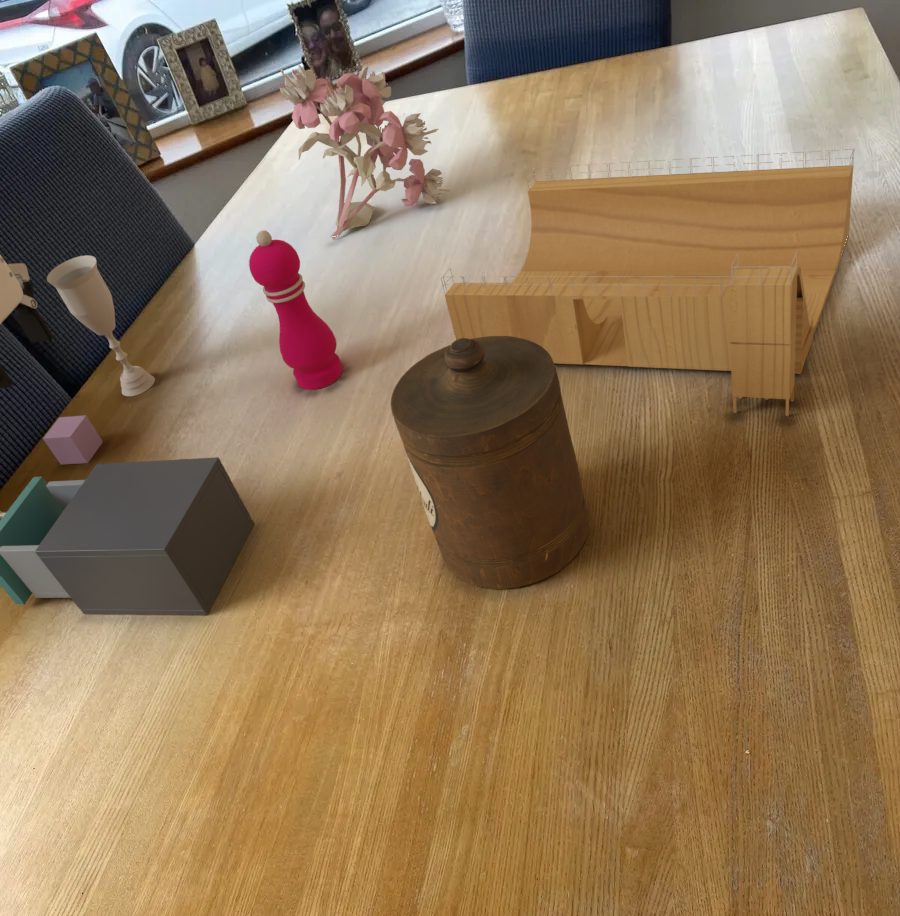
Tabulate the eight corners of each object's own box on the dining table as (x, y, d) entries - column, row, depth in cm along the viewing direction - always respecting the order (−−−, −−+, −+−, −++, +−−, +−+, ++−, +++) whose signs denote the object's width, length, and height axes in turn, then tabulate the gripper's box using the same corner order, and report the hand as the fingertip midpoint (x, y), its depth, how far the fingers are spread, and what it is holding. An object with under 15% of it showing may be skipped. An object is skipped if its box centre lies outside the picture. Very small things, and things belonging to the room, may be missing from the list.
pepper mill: (286, 377, 125) (224, 235, 111) (334, 353, 126) (278, 209, 112) (305, 399, 120) (242, 254, 106) (354, 374, 121) (299, 227, 107)
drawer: (-28, 603, 106) (-72, 555, 101) (28, 527, 114) (-10, 478, 109) (124, 604, 99) (86, 552, 94) (172, 523, 107) (140, 471, 102)
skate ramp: (849, 244, 115) (858, 105, 104) (789, 416, 95) (792, 267, 84) (546, 249, 133) (526, 131, 122) (440, 394, 113) (405, 269, 101)
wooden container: (471, 481, 100) (415, 297, 85) (606, 489, 94) (572, 292, 79) (419, 582, 92) (346, 397, 76) (564, 599, 86) (517, 401, 70)
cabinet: (83, 614, 101) (34, 551, 95) (138, 526, 110) (96, 463, 103) (207, 615, 96) (164, 549, 90) (254, 523, 105) (218, 456, 98)
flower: (389, 257, 138) (398, 62, 126) (272, 237, 148) (270, 54, 136) (460, 248, 153) (474, 73, 142) (350, 230, 163) (354, 66, 152)
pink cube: (60, 464, 124) (42, 438, 121) (76, 443, 127) (59, 417, 124) (87, 463, 123) (70, 436, 120) (103, 441, 125) (86, 415, 122)
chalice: (166, 384, 132) (102, 266, 119) (122, 407, 131) (52, 290, 118) (152, 364, 137) (89, 249, 124) (110, 386, 136) (41, 272, 123)
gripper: (-48, 198, 110) (34, 326, 122) (-140, 276, 99) (-40, 408, 111) (2, 188, 107) (81, 320, 119) (-86, 268, 96) (10, 404, 108)
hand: (23, 362), depth 115 cm, fingers open, 9 cm apart
